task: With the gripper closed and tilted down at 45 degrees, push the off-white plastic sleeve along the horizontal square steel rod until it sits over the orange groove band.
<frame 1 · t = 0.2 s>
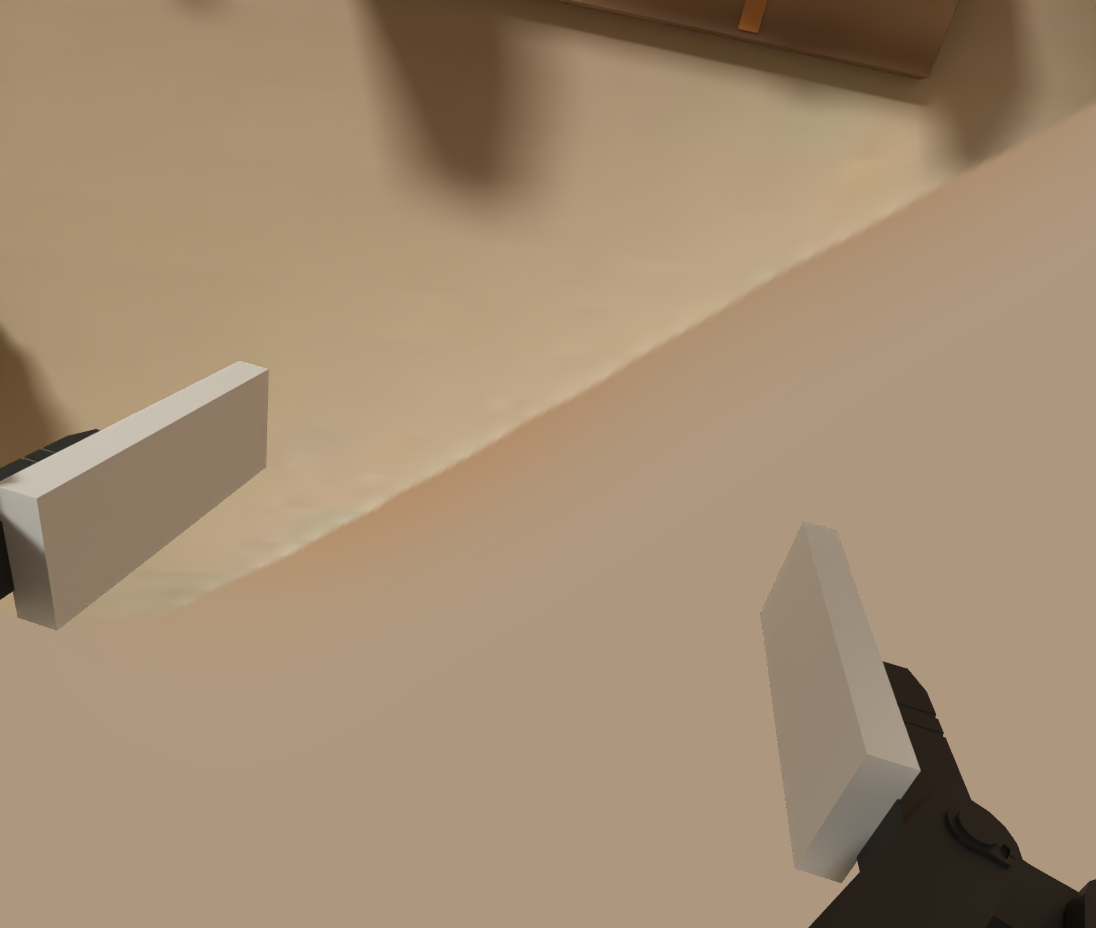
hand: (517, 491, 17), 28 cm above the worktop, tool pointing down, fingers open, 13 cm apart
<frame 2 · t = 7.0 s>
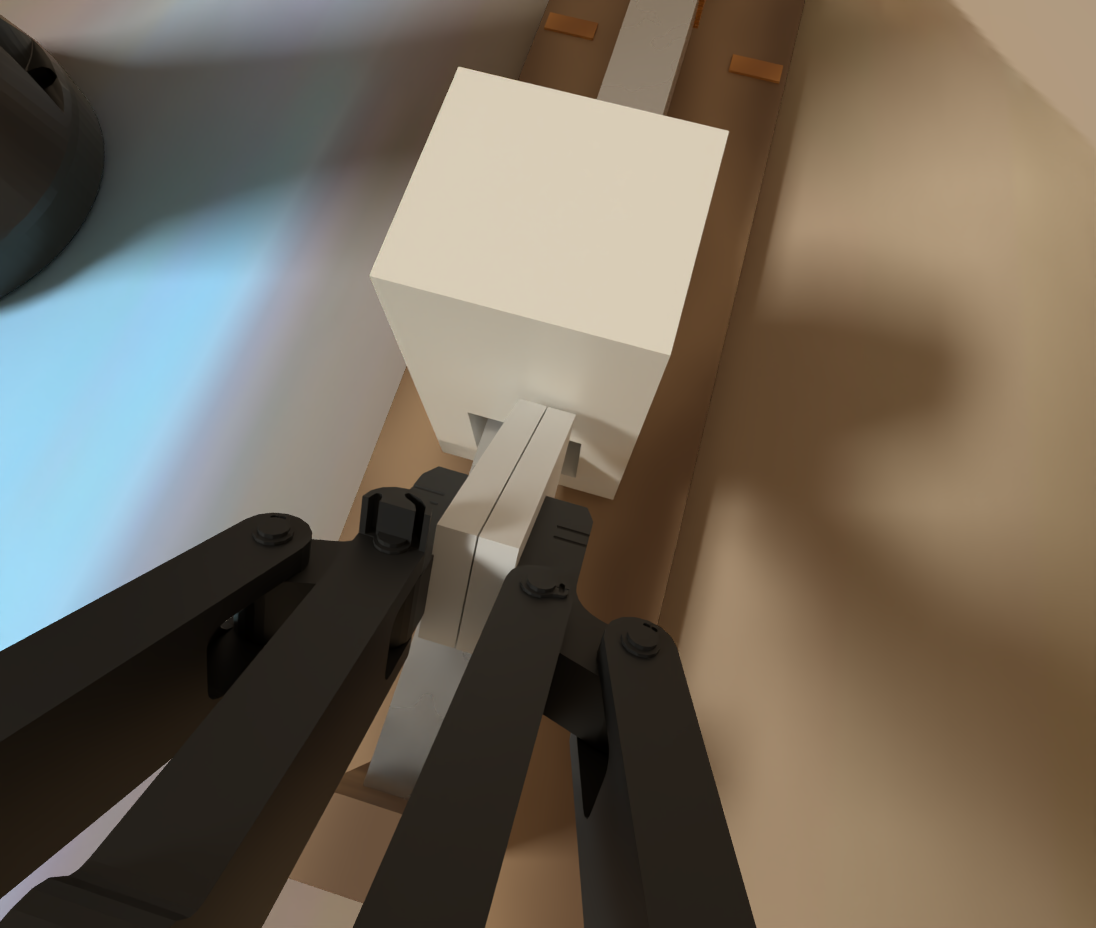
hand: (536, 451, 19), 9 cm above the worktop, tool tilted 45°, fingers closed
sleeve: (552, 329, 21), point 8 cm above the worktop, slide at 0.7 cm
steel rod: (589, 291, 30), resting on walnut board
walnut board: (583, 311, 30), on the worktop
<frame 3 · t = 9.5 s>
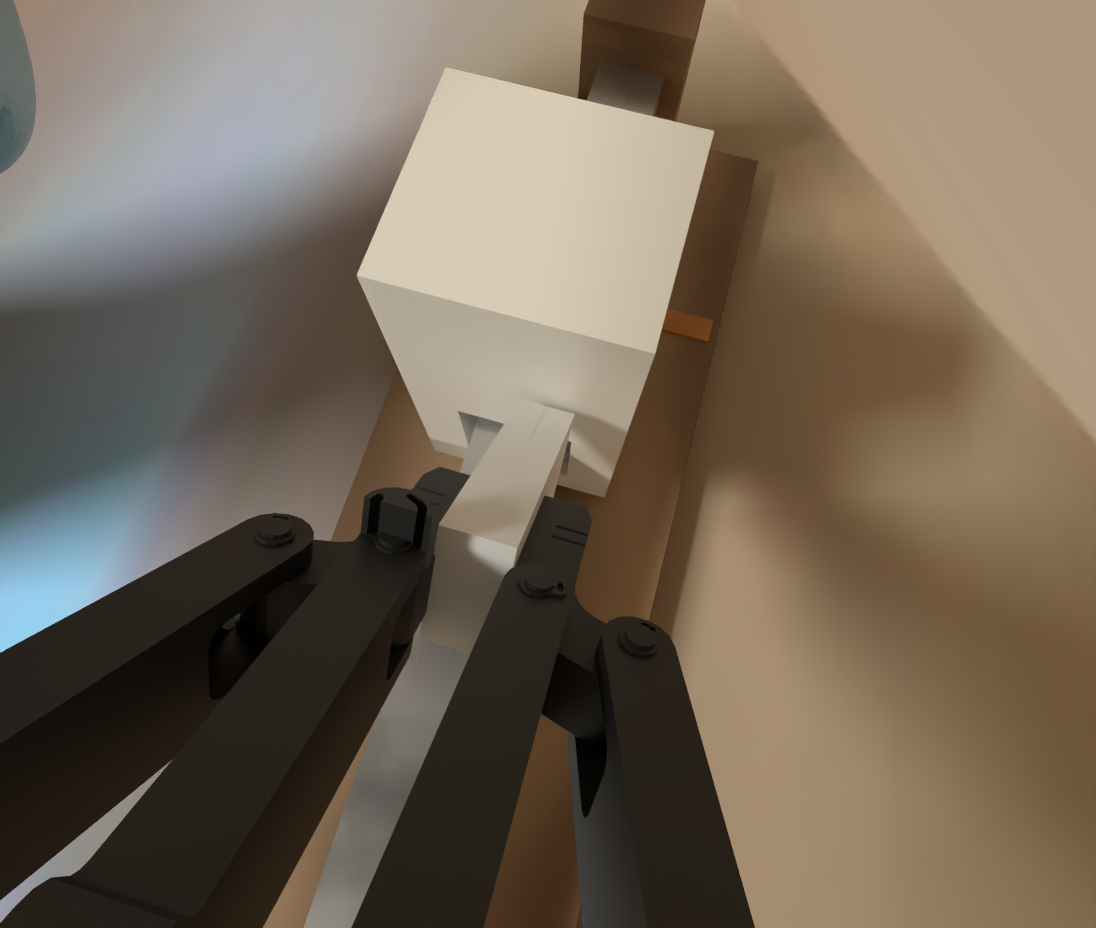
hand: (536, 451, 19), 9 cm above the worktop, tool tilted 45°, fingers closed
sleeve: (541, 328, 21), point 8 cm above the worktop, slide at 14.8 cm, touching gripper
steel rod: (483, 604, 26), resting on walnut board
walnut board: (475, 630, 26), on the worktop
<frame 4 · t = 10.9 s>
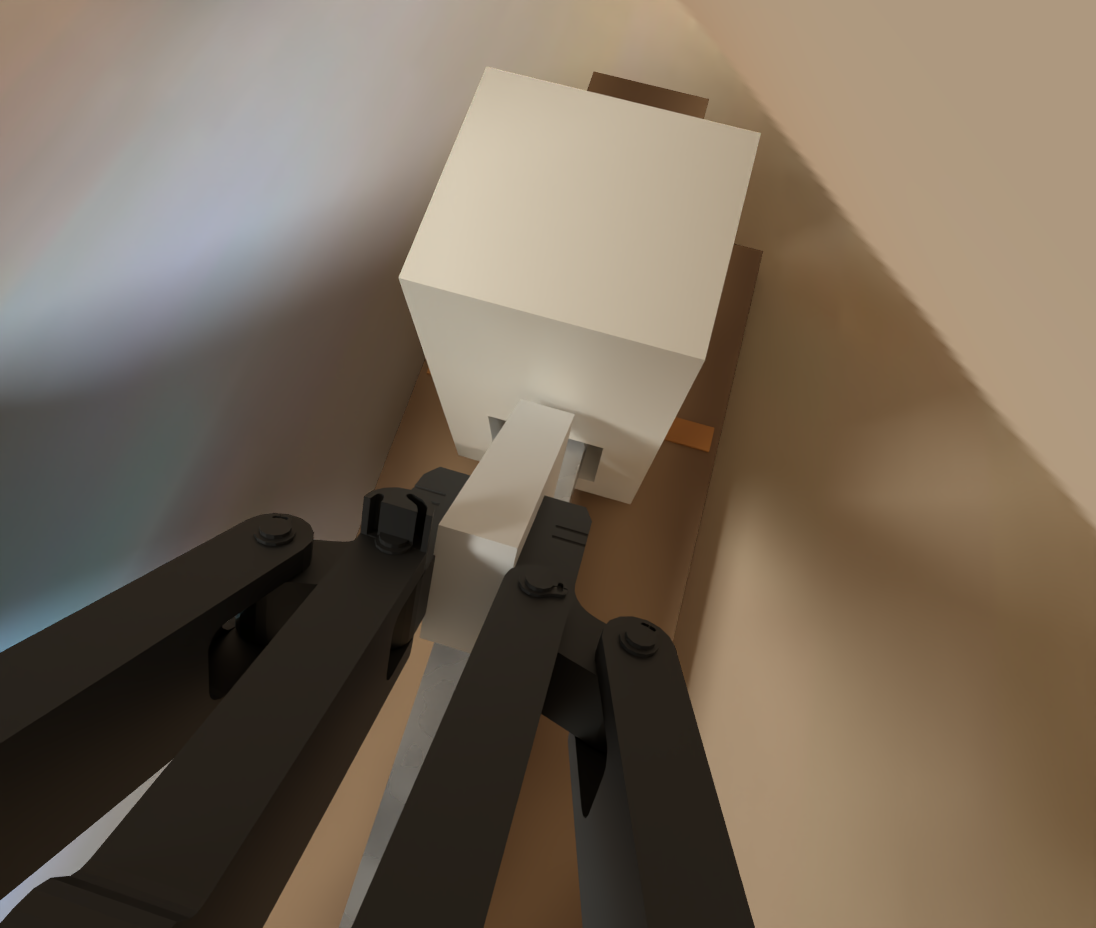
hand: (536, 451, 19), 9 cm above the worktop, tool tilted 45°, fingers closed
sleeve: (573, 332, 21), point 8 cm above the worktop, slide at 19.5 cm, touching gripper
steel rod: (466, 741, 24), resting on walnut board
walnut board: (457, 770, 24), on the worktop
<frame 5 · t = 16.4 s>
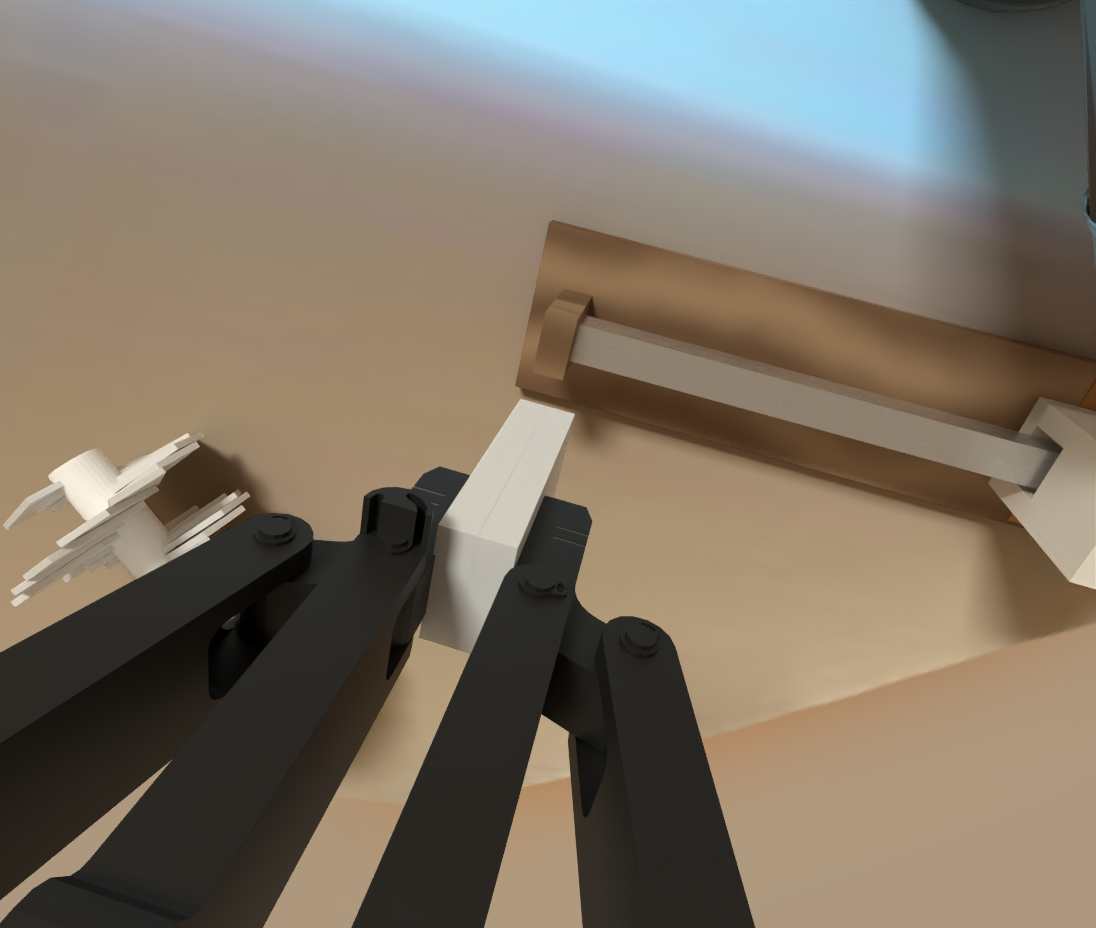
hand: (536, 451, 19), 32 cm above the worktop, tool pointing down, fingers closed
spiral staircase: (240, 529, 65), on the worktop
steel rod: (863, 393, 48), resting on walnut board
walnut board: (849, 389, 48), on the worktop
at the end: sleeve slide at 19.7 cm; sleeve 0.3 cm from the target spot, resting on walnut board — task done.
